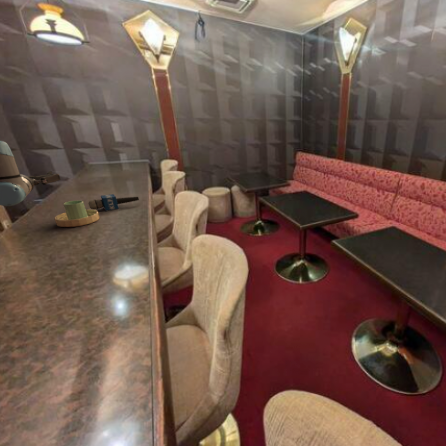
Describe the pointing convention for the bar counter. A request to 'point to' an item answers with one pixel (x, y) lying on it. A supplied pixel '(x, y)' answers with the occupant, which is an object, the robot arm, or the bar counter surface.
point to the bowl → (64, 222)
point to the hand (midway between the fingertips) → (28, 175)
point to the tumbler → (75, 209)
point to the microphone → (110, 202)
